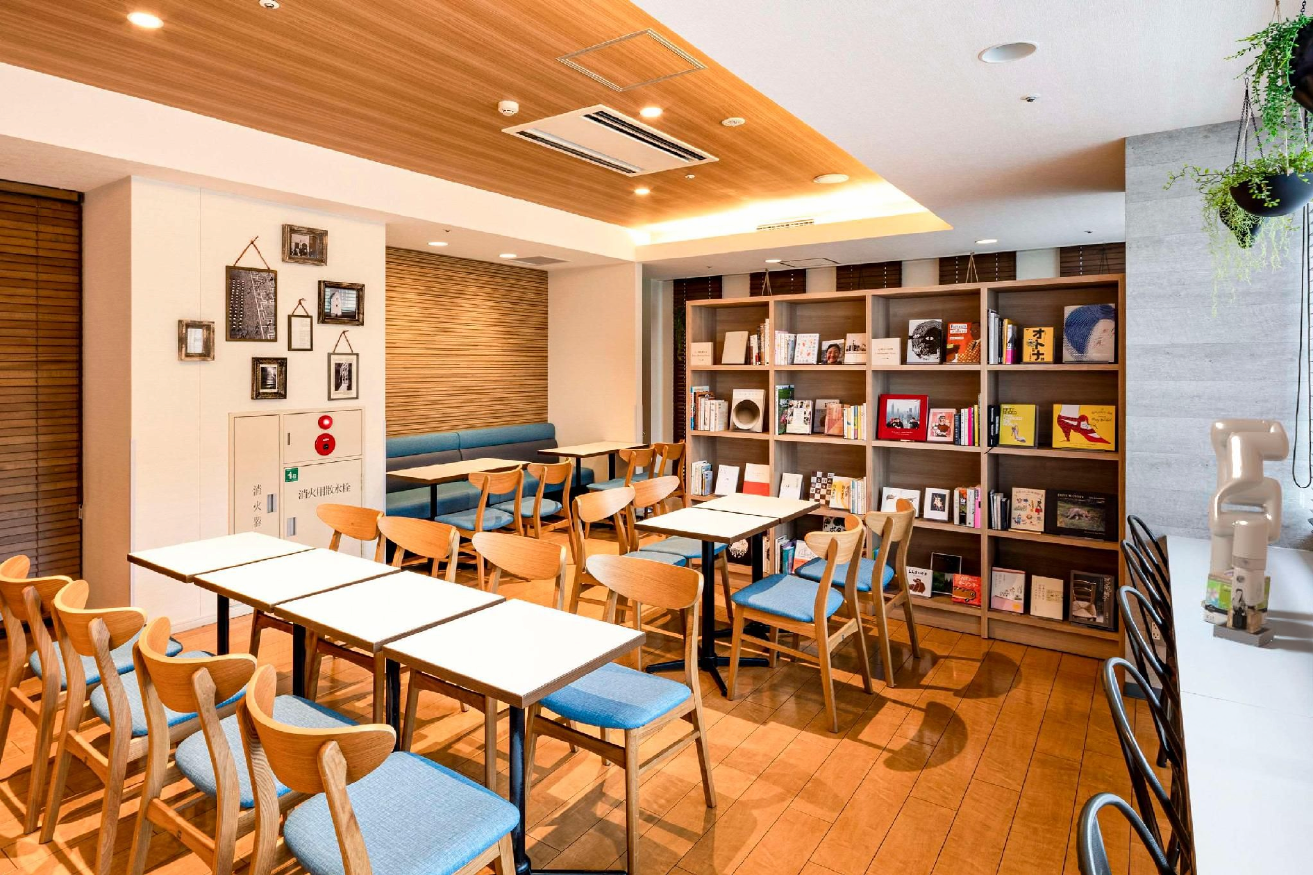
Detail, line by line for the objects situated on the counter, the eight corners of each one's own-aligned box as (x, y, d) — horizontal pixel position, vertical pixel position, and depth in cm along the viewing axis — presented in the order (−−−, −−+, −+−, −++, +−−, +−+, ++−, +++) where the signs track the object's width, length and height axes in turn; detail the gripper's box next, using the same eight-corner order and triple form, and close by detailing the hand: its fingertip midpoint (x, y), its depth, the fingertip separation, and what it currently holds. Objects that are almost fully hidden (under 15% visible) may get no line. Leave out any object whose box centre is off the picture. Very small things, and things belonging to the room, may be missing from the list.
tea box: (1240, 631, 219) (1244, 581, 218) (1202, 621, 228) (1206, 572, 227) (1267, 624, 226) (1271, 575, 225) (1229, 614, 235) (1233, 567, 234)
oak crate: (1261, 629, 212) (1262, 611, 212) (1252, 633, 209) (1253, 615, 208) (1235, 623, 217) (1236, 606, 217) (1226, 626, 214) (1228, 609, 213)
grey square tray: (1228, 629, 221) (1229, 619, 220) (1273, 640, 212) (1274, 629, 211) (1212, 635, 215) (1213, 625, 214) (1258, 647, 206) (1259, 636, 206)
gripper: (1252, 570, 204) (1247, 635, 205) (1277, 561, 213) (1272, 624, 215) (1219, 564, 210) (1215, 627, 211) (1245, 556, 219) (1240, 617, 221)
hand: (1243, 625), depth 213 cm, fingers closed on oak crate, 5 cm apart
